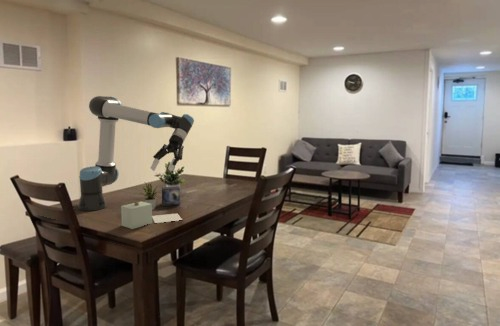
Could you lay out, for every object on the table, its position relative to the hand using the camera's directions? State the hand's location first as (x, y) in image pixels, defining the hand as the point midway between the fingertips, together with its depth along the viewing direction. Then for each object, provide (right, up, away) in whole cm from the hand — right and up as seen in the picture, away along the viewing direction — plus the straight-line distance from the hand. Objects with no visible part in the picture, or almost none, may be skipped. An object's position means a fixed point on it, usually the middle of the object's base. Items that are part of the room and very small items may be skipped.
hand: (160, 169), depth 193 cm
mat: (+3, -26, -1) cm, 26 cm away
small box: (-1, -22, +28) cm, 35 cm away
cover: (-9, -27, -11) cm, 31 cm away
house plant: (-12, -23, +18) cm, 32 cm away
